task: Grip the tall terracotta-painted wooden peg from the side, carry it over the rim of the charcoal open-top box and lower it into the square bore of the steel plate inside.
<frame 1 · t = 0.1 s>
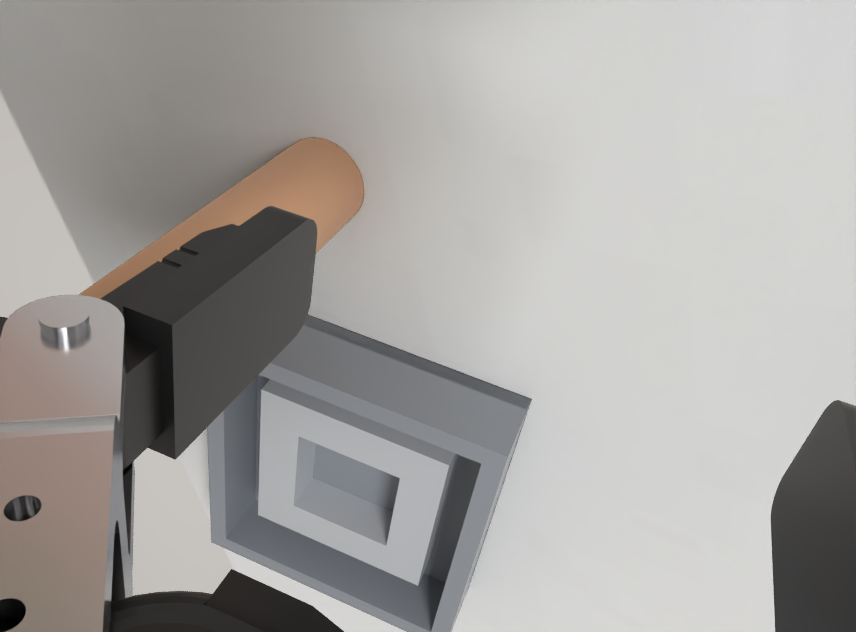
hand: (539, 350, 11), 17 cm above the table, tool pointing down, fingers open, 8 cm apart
peg: (322, 182, 32), on the table
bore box: (367, 454, 41), on the table
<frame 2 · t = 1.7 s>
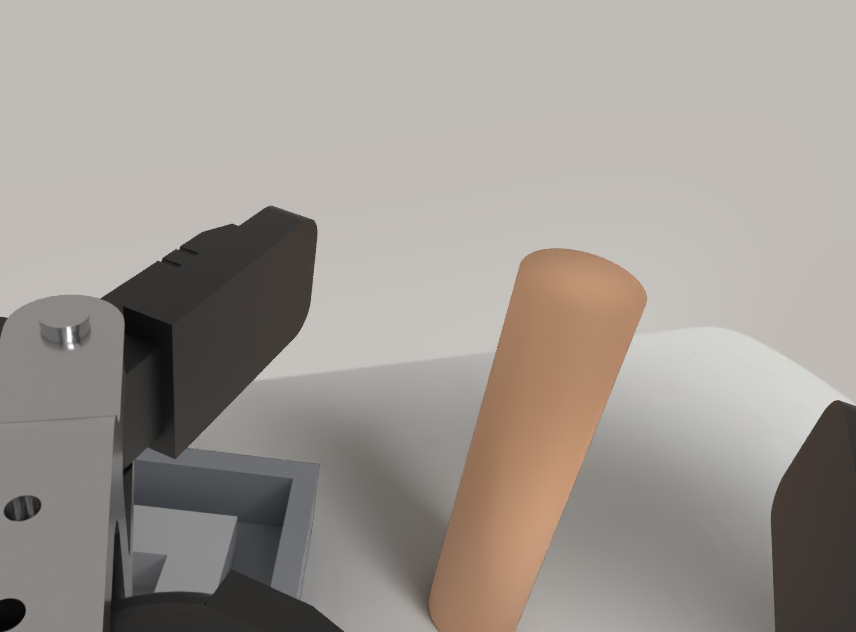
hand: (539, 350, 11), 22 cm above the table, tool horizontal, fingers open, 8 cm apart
peg: (473, 607, 32), on the table
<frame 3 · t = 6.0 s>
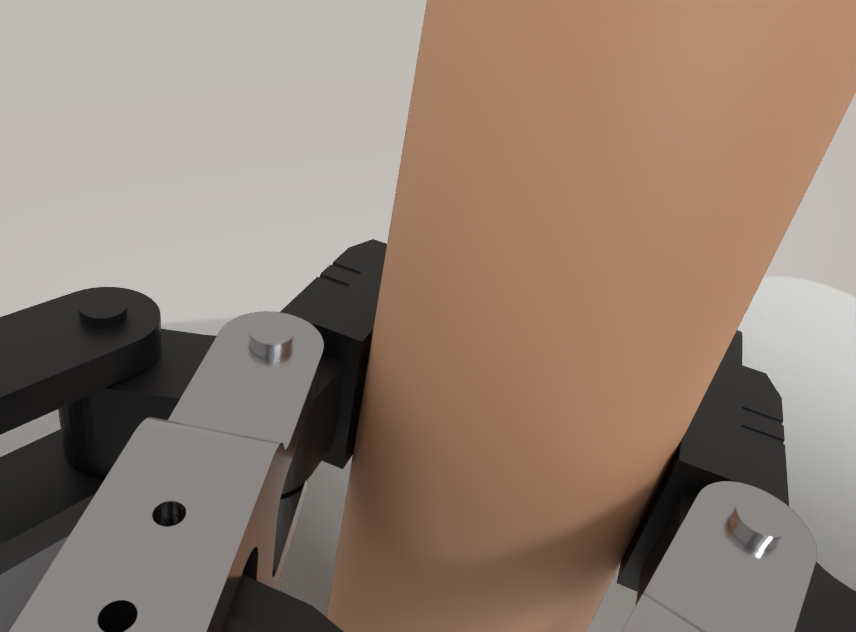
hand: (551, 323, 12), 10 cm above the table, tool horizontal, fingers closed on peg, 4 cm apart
when the fingers open (12 cm above the table, at t = 13.3 s): peg drops 1 cm, resting on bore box.
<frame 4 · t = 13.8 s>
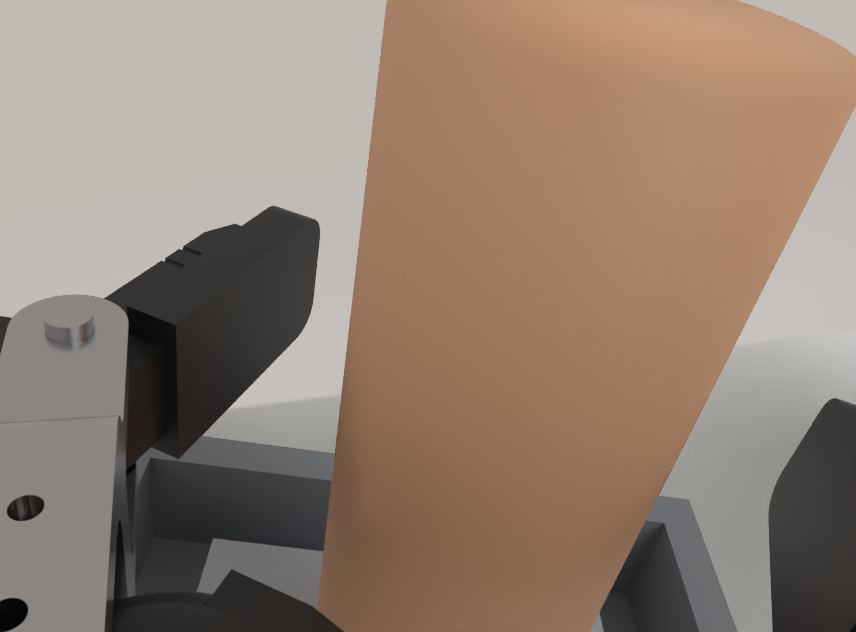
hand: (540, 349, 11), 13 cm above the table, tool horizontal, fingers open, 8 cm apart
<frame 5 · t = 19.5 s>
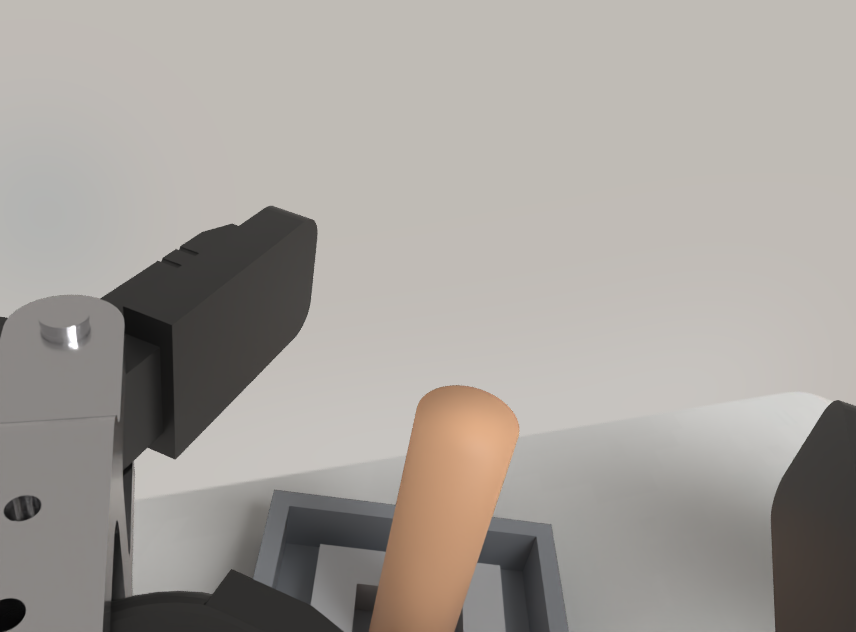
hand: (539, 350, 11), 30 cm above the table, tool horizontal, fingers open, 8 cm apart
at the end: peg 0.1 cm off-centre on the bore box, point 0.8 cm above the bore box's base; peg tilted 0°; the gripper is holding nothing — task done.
